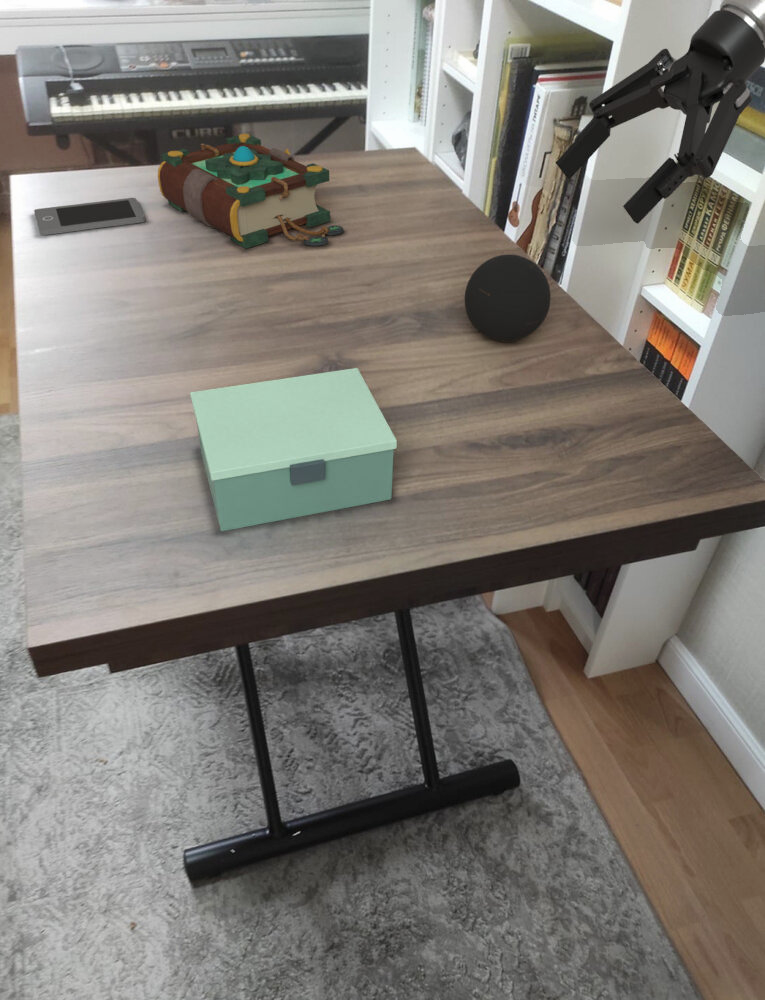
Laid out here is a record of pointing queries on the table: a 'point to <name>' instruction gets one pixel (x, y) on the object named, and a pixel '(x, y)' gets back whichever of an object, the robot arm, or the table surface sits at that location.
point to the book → (246, 190)
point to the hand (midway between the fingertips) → (594, 192)
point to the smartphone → (88, 216)
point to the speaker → (507, 298)
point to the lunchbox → (293, 447)
